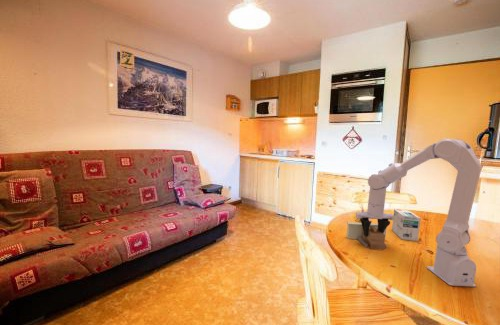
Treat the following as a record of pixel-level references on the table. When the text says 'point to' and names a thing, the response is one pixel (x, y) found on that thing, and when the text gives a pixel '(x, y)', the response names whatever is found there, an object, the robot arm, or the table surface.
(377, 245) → the cabinet block
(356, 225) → the wall board
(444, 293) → the table surface
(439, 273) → the robot arm
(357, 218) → the lily
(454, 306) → the table surface
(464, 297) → the table surface
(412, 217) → the light bulb box
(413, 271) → the table surface
